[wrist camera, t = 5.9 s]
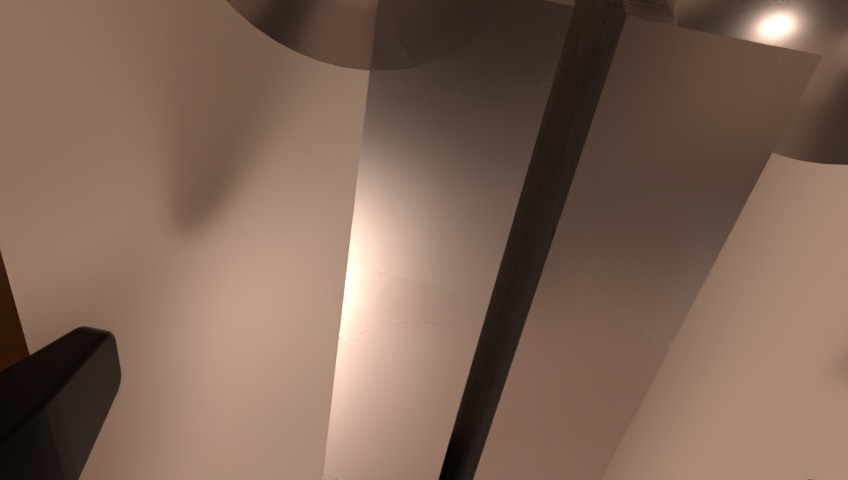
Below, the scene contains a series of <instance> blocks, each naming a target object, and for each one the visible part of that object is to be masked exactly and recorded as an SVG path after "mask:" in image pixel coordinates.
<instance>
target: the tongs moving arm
mask: <svg viewBox="0 0 848 480" xmlns="http://www.w3.org/2000/svg"><path fill="white" fill-rule="evenodd" d="M226 1H227V2H228V3H229V4H230V5H231V6H232V7H233V8H234V9H235V10H236V11H237V12H238V13H239V14H240V15H241V16H243V17H244V18H245V19H246V20H247V21H248V22H250V23H251V24H252V25H253V26H254V27H256V28H257V29H259V30H260V31H261V32H263V33H264V34H266V35H267V36H269V37H270V38H272V39H273V40H275V41H276V42H278V43H280V44H282V45H284V46H286V47H287V48H289V49H291V50H293V51H295V52H297V53H300V54H302V55H305V56H307V57H310V58H312V59H314V60H317V61H320V62H324V63H328V64H331V65H335V66H339V67H344V68H351V69H358V70H370V73H369V81H368V90H367V99H366V108H365V116H364V125H363V134H362V142H361V151H360V160H359V168H358V177H357V186H356V195H355V203H354V212H353V221H352V229H351V238H350V247H349V255H348V264H347V273H346V282H345V290H344V299H343V308H342V316H341V325H340V334H339V342H338V351H337V360H336V369H335V377H334V386H333V395H332V403H331V412H330V421H329V429H328V438H327V447H326V456H325V464H324V473H323V480H438V479H439V476H440V472H441V469H442V465H443V462H444V458H445V455H446V451H447V448H448V444H449V441H450V437H451V434H452V431H453V427H454V424H455V420H456V417H457V413H458V410H459V406H460V403H461V399H462V396H463V392H464V389H465V385H466V382H467V379H468V375H469V372H470V368H471V365H472V361H473V358H474V354H475V351H476V347H477V344H478V340H479V337H480V333H481V330H482V327H483V323H484V320H485V316H486V313H487V309H488V306H489V302H490V299H491V295H492V292H493V288H494V285H495V281H496V278H497V275H498V271H499V268H500V264H501V261H502V257H503V254H504V250H505V247H506V243H507V240H508V236H509V233H510V229H511V226H512V223H513V219H514V216H515V212H516V209H517V205H518V202H519V198H520V195H521V191H522V188H523V184H524V181H525V177H526V174H527V170H528V167H529V164H530V160H531V157H532V153H533V150H534V146H535V143H536V139H537V136H538V132H539V129H540V125H541V122H542V119H543V115H544V112H545V108H546V105H547V101H548V98H549V94H550V91H551V87H552V84H553V80H554V77H555V73H556V70H557V66H558V63H559V60H560V56H561V53H562V49H563V46H564V42H565V39H566V35H567V32H568V28H569V25H570V21H571V18H572V14H573V11H574V8H575V2H574V0H226Z"/></svg>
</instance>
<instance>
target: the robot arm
mask: <svg viewBox="0 0 848 480" xmlns="http://www.w3.org/2000/svg"><path fill="white" fill-rule="evenodd" d="M120 383H121V367H120V361H119V355H118V349H117V343H116V339H115V336H114V335H113V333H112V332H110V331H107V330H102V329H98V328H93V327H88V326H81V327H78V328H75V329H73V330H72V331H70V332H68V333H67V334H65V335H63V336H62V337H60V338H58V339H56V340H55V341H53V342H51V343H50V344H48V345H46V346H45V347H43V348H41V349H39V350H38V351H36V352H34V353H33V354H31V355H29V356H28V357H26V358H24V359H23V360H21V361H19V362H17V363H16V364H14V365H12V366H11V367H9V368H7V369H6V370H4V371H2V372H0V480H79V478H80V476H81V474H82V471H83V469H84V467H85V465H86V462H87V460H88V458H89V456H90V453H91V451H92V449H93V447H94V444H95V442H96V440H97V438H98V435H99V433H100V431H101V429H102V426H103V424H104V422H105V420H106V417H107V415H108V413H109V411H110V408H111V406H112V404H113V402H114V399H115V397H116V395H117V392H118V390H119V387H120ZM808 480H813V479H808Z"/></svg>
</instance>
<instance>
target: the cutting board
mask: <svg viewBox="0 0 848 480" xmlns="http://www.w3.org/2000/svg"><path fill="white" fill-rule="evenodd" d="M369 73H370V70H358V69H351V68H344V67H339V66H335V65H331V64H328V63H324V62H320V61H317V60H314V59H312V58H310V57H307V56H305V55H302V54H300V53H297V52H295V51H293V50H291V49H289V48H287V47H286V46H284V45H282V44H280V43H278V42H276V41H275V40H273V39H272V38H270V37H269V36H267V35H266V34H264V33H263V32H261V31H260V30H259V29H257V28H256V27H254V26H253V25H252V24H251V23H250V22H248V21H247V20H246V19H245V18H244V17H243V16H241V15H240V14H239V13H238V12H237V11H236V10H235V9H234V8H233V7H232V6H231V5H230V4H229V3H228V2H227V1H226V0H0V251H1V254H2V258H3V261H4V265H5V268H6V272H7V276H8V279H9V283H10V286H11V290H12V293H13V297H14V300H15V304H16V308H17V311H18V315H19V318H20V322H21V325H22V329H23V333H24V336H25V340H26V343H27V347H28V350H29V354H30V355H31V354H33V353H34V352H36V351H38V350H39V349H41V348H43V347H45V346H46V345H48V344H50V343H51V342H53V341H55V340H56V339H58V338H60V337H62V336H63V335H65V334H67V333H68V332H70V331H72V330H73V329H75V328H78V327H81V326H88V327H93V328H98V329H102V330H107V331H110V332H112V333H113V335H114V336H115V339H116V343H117V349H118V355H119V361H120V367H121V383H120V387H119V390H118V392H117V395H116V397H115V399H114V402H113V404H112V406H111V408H110V411H109V413H108V415H107V417H106V420H105V422H104V424H103V426H102V429H101V431H100V433H99V435H98V438H97V440H96V442H95V444H94V447H93V449H92V451H91V453H90V456H89V458H88V460H87V462H86V465H85V467H84V469H83V471H82V474H81V476H80V478H79V480H323V473H324V464H325V456H326V447H327V438H328V429H329V421H330V412H331V403H332V395H333V386H334V377H335V369H336V360H337V351H338V342H339V334H340V325H341V316H342V308H343V299H344V290H345V282H346V273H347V264H348V255H349V247H350V238H351V229H352V221H353V212H354V203H355V195H356V186H357V177H358V168H359V160H360V151H361V142H362V134H363V125H364V116H365V108H366V99H367V90H368V81H369ZM808 479H813V480H848V165H834V164H820V163H813V162H806V161H800V160H796V159H792V158H788V157H785V156H781V155H778V154H775V153H773V152H772V154H771V156H770V158H769V160H768V162H767V164H766V165H765V167H764V169H763V171H762V173H761V175H760V177H759V179H758V181H757V183H756V185H755V186H754V188H753V190H752V192H751V194H750V196H749V198H748V200H747V202H746V204H745V206H744V208H743V209H742V211H741V213H740V215H739V217H738V219H737V221H736V223H735V225H734V227H733V229H732V230H731V232H730V234H729V236H728V238H727V240H726V242H725V244H724V246H723V248H722V250H721V251H720V253H719V255H718V257H717V259H716V261H715V263H714V265H713V267H712V269H711V271H710V272H709V274H708V276H707V278H706V280H705V282H704V284H703V286H702V288H701V290H700V292H699V294H698V295H697V297H696V299H695V301H694V303H693V305H692V307H691V309H690V311H689V313H688V315H687V316H686V318H685V320H684V322H683V324H682V326H681V328H680V330H679V332H678V334H677V336H676V337H675V339H674V341H673V343H672V345H671V347H670V349H669V351H668V353H667V355H666V357H665V358H664V360H663V362H662V364H661V366H660V368H659V370H658V372H657V374H656V376H655V378H654V380H653V381H652V383H651V385H650V387H649V389H648V391H647V393H646V395H645V397H644V399H643V401H642V402H641V404H640V406H639V408H638V410H637V412H636V414H635V416H634V418H633V420H632V422H631V423H630V425H629V427H628V429H627V431H626V433H625V435H624V437H623V439H622V441H621V443H620V444H619V446H618V448H617V450H616V452H615V454H614V456H613V458H612V460H611V462H610V464H609V466H608V467H607V469H606V471H605V473H604V475H603V477H602V479H601V480H808Z"/></svg>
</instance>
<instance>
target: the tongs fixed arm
mask: <svg viewBox="0 0 848 480" xmlns="http://www.w3.org/2000/svg"><path fill="white" fill-rule="evenodd" d="M574 2H575V8H574V11H573V14H572V18H571V21H570V25H569V28H568V32H567V35H566V39H565V42H564V46H563V49H562V53H561V56H560V60H559V63H558V66H557V70H556V73H555V77H554V80H553V84H552V87H551V91H550V94H549V98H548V101H547V105H546V108H545V112H544V115H543V119H542V122H541V125H540V129H539V132H538V136H537V139H536V143H535V146H534V150H533V153H532V157H531V160H530V164H529V167H528V170H527V174H526V177H525V181H524V184H523V188H522V191H521V195H520V198H519V202H518V205H517V209H516V212H515V216H514V219H513V223H512V226H511V229H510V233H509V236H508V240H507V243H506V247H505V250H504V254H503V257H502V261H501V264H500V268H499V271H498V275H497V278H496V281H495V285H494V288H493V292H492V295H491V299H490V302H489V306H488V309H487V313H486V316H485V320H484V323H483V327H482V330H481V333H480V337H479V340H478V344H477V347H476V351H475V354H474V358H473V361H472V365H471V368H470V372H469V375H468V379H467V382H466V385H465V389H464V392H463V396H462V399H461V403H460V406H459V410H458V413H457V417H456V420H455V424H454V427H453V431H452V434H451V437H450V441H449V444H448V448H447V451H446V455H445V458H444V462H443V465H442V469H441V472H440V476H439V479H438V480H601V479H602V477H603V475H604V473H605V471H606V469H607V467H608V466H609V464H610V462H611V460H612V458H613V456H614V454H615V452H616V450H617V448H618V446H619V444H620V443H621V441H622V439H623V437H624V435H625V433H626V431H627V429H628V427H629V425H630V423H631V422H632V420H633V418H634V416H635V414H636V412H637V410H638V408H639V406H640V404H641V402H642V401H643V399H644V397H645V395H646V393H647V391H648V389H649V387H650V385H651V383H652V381H653V380H654V378H655V376H656V374H657V372H658V370H659V368H660V366H661V364H662V362H663V360H664V358H665V357H666V355H667V353H668V351H669V349H670V347H671V345H672V343H673V341H674V339H675V337H676V336H677V334H678V332H679V330H680V328H681V326H682V324H683V322H684V320H685V318H686V316H687V315H688V313H689V311H690V309H691V307H692V305H693V303H694V301H695V299H696V297H697V295H698V294H699V292H700V290H701V288H702V286H703V284H704V282H705V280H706V278H707V276H708V274H709V272H710V271H711V269H712V267H713V265H714V263H715V261H716V259H717V257H718V255H719V253H720V251H721V250H722V248H723V246H724V244H725V242H726V240H727V238H728V236H729V234H730V232H731V230H732V229H733V227H734V225H735V223H736V221H737V219H738V217H739V215H740V213H741V211H742V209H743V208H744V206H745V204H746V202H747V200H748V198H749V196H750V194H751V192H752V190H753V188H754V186H755V185H756V183H757V181H758V179H759V177H760V175H761V173H762V171H763V169H764V167H765V165H766V164H767V162H768V160H769V158H770V156H771V154H772V152H773V153H775V154H778V155H781V156H785V157H788V158H792V159H796V160H800V161H806V162H813V163H820V164H834V165H848V0H574Z"/></svg>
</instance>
